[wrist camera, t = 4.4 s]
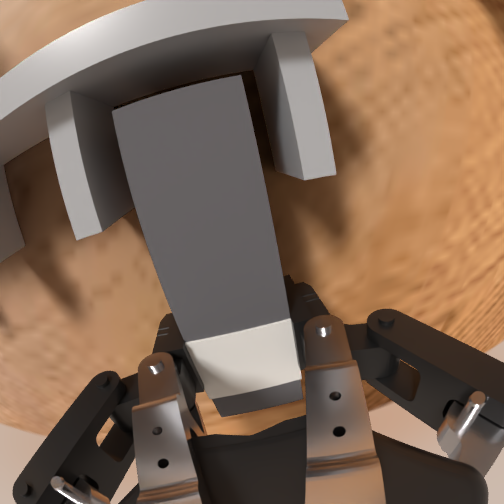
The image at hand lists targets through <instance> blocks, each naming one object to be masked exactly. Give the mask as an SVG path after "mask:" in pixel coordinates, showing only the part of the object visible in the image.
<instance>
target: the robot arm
mask: <svg viewBox="0 0 504 504" xmlns="http://www.w3.org/2000/svg"><path fill="white" fill-rule="evenodd" d="M283 279H284V284H285V290H286V296H287V301H288V307H289V313H290V319H291V324H292V330H293V336H294V342H295V348H296V354H297V361H298V365H299V368H300V370H303V369H305V386H306V415H304V416H301V417H297V418H293V419H289V420H285V421H283V422H281V423H279V424H277V425H274V426H272V427H270V428H268V429H265V430H263V431H261V432H259V433H256V434H254V435H250V436H241V435H220V434H213V435H207V432H206V429H205V425H204V422H203V419H202V416H201V413H200V410H199V406H198V404H197V402H196V400H195V398H196V393H198V392H204V383H203V381H202V379H201V377H200V375H199V373H198V371H197V369H196V367H195V365H194V363H193V361H192V358H191V356H190V354H189V352H188V350H187V347H186V345H185V341H184V339H183V337H182V335H181V333H180V330H179V328H178V326H177V323H176V321H175V318H174V316H173V314H172V313H170V314H166V316H165V317H164V318H163V319H162V320H161V322H160V326H159V330H158V333H157V337H156V341H155V344H154V348H153V352H152V354H151V355H149V356H147V357H146V358H144V359H143V360H142V361H141V363H140V364H139V366H138V373H136V374H134V375H131V376H128V377H125V378H123V379H121V378H120V377H119V375H118V374H117V373H116V372H114V371H105V372H102V373H100V374H98V375H96V376H95V377H94V378H93V379H92V380H91V381H90V382H89V384H88V385H87V386H86V387H85V389H84V390H83V391H82V392H81V394H80V395H79V396H78V397H77V399H76V400H75V401H74V403H73V404H72V405H71V406H70V408H69V409H68V410H67V411H66V413H65V414H64V415H63V417H62V418H61V419H60V421H59V422H58V423H57V425H56V426H55V427H54V428H53V430H52V431H51V432H50V434H49V435H48V436H47V438H46V439H45V441H44V442H43V443H42V445H41V446H40V447H39V449H38V450H37V452H36V453H35V454H34V456H33V457H32V458H31V460H30V461H29V463H28V464H27V465H26V467H25V468H24V470H23V471H22V473H21V474H20V475H19V477H18V478H17V480H16V482H15V483H14V486H13V497H14V500H15V502H16V503H17V504H110V501H111V499H112V498H113V496H114V494H115V492H116V490H117V489H118V487H119V485H120V483H121V482H122V480H123V478H124V476H125V474H126V472H127V471H128V469H129V467H130V465H131V463H132V462H133V460H134V458H136V466H137V474H138V481H139V483H138V484H137V485H136V486H135V487H134V488H133V489H132V490H131V491H130V492H129V493H128V494H127V495H126V496H125V497H124V499H122V500H121V502H119V503H118V504H488V487H487V484H486V481H485V479H484V477H485V475H486V474H487V472H488V471H489V469H490V468H491V466H492V465H493V463H494V462H495V460H496V458H497V457H498V455H499V454H500V452H501V450H502V448H503V447H504V363H503V362H501V361H499V360H497V359H495V358H493V357H491V356H489V355H487V354H485V353H483V352H481V351H479V350H477V349H475V348H473V347H471V346H469V345H467V344H465V343H463V342H461V341H459V340H457V339H455V338H453V337H451V336H449V335H447V334H444V333H442V332H440V331H438V330H436V329H434V328H432V327H430V326H428V325H426V324H424V323H422V322H420V321H418V320H416V319H414V318H411V317H409V316H407V315H405V314H403V313H401V312H399V311H397V310H394V309H380V310H377V311H374V312H373V313H371V314H370V315H369V317H368V318H367V323H365V324H356V325H347V324H343V321H342V320H341V319H340V318H338V317H336V316H333V315H330V313H329V312H328V310H327V309H326V307H325V306H324V304H323V303H322V301H321V300H320V299H319V297H318V295H317V294H316V293H315V291H314V289H313V288H312V287H311V286H310V285H308V284H306V283H304V282H301V283H298V284H294V282H293V280H292V279H291V277H290V275H285V276H283ZM400 359H401V360H403V361H404V362H406V363H408V364H409V365H411V366H413V367H414V368H416V369H417V370H418V371H417V370H416V369H414V368H412V367H411V366H409V365H407V364H406V363H404V362H402V361H401V360H400ZM361 380H366V381H367V383H369V384H370V385H371V386H373V387H374V388H375V389H377V390H378V391H380V392H381V393H382V394H384V395H385V396H387V397H388V398H389V399H391V400H392V401H394V402H395V403H397V404H398V405H399V406H401V407H402V408H404V409H405V410H407V411H408V412H409V413H411V414H412V415H414V416H415V417H417V418H418V419H420V420H421V421H423V422H424V423H426V424H427V425H429V426H430V427H431V428H433V429H434V430H436V431H437V440H438V443H439V445H440V446H441V449H442V450H443V451H444V452H446V453H447V455H448V457H449V458H446V457H442V456H440V455H436V454H433V453H430V452H427V451H425V450H422V449H419V448H416V447H413V446H410V445H408V444H405V443H402V442H399V441H397V440H395V439H392V438H389V437H387V436H385V435H382V434H380V433H377V432H375V431H373V430H372V429H371V424H370V419H369V414H368V409H367V404H366V399H365V395H364V390H363V386H362V381H361ZM109 417H110V418H111V420H112V421H113V422H114V425H113V427H112V428H111V430H110V431H109V433H108V434H107V436H106V437H105V439H104V440H103V442H102V443H101V445H100V447H99V446H98V445H97V442H96V437H97V434H98V433H99V431H100V430H101V428H102V427H103V425H104V424H105V422H106V421H107V419H108V418H109Z"/></svg>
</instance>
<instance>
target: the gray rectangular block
mask: <svg viewBox="0 0 504 504" xmlns="http://www.w3.org/2000/svg"><path fill="white" fill-rule="evenodd" d="M112 115H113V120H114V125H115V130H116V134H117V139H118V143H119V148H120V152H121V156H122V160H123V164H124V168H125V172H126V176H127V180H128V184H129V187H130V191H131V195H132V198H133V202H134V205H135V208H136V212H137V215H138V218H139V222H140V225H141V228H142V231H143V234H144V237H145V240H146V243H147V246H148V249H149V252H150V255H151V258H152V261H153V264H154V267H155V269H156V272H157V275H158V278H159V280H160V283H161V286H162V288H163V291H164V293H165V296H166V299H167V301H168V304H169V306H170V309H171V311H172V314H173V316H174V318H175V321H176V323H177V326H178V328H179V330H180V333H181V335H182V337H183V339H184V341H185V345H186V347H187V350H188V352H189V354H190V356H191V358H192V361H193V363H194V365H195V367H196V369H197V371H198V373H199V375H200V377H201V379H202V381H203V383H204V389H205V391H206V393H207V395H208V397H209V399H212V400H213V402H214V404H215V406H216V408H217V410H218V412H219V414H220V415H221V417H226V416H232V415H237V414H242V413H247V412H252V411H257V410H262V409H266V408H270V407H274V406H279V405H283V404H286V403H290V402H294V401H298V400H301V399H303V394H302V387H301V381H300V379H302V376H301V370H300V368H299V365H298V361H297V354H296V348H295V342H294V336H293V330H292V324H291V319H290V313H289V307H288V301H287V296H286V290H285V284H284V279H283V273H282V268H281V262H280V257H279V252H278V246H277V241H276V236H275V231H274V225H273V220H272V215H271V210H270V205H269V200H268V195H267V190H266V185H265V181H264V176H263V171H262V166H261V161H260V157H259V152H258V147H257V143H256V138H255V134H254V129H253V124H252V120H251V115H250V111H249V107H248V102H247V98H246V94H245V89H244V85H243V81H242V77H241V75H238V76H232V77H227V78H222V79H217V80H212V81H208V82H203V83H199V84H195V85H191V86H187V87H183V88H179V89H176V90H172V91H169V92H165V93H162V94H159V95H156V96H153V97H149V98H146V99H143V100H140V101H138V102H135V103H132V104H129V105H126V106H124V107H121V108H119V109H116V110H113V111H112Z"/></svg>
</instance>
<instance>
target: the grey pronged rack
mask: <svg viewBox="0 0 504 504" xmlns="http://www.w3.org/2000/svg"><path fill="white" fill-rule="evenodd" d="M347 21H349V19H348V16H347V13H346V10H345V8H344V5H343V2H342V0H146V1H142V2H139V3H136V4H134V5H131V6H128V7H125V8H122V9H120V10H117V11H115V12H112V13H110V14H107V15H105V16H103V17H100V18H98V19H96V20H94V21H91V22H89V23H87V24H85V25H83V26H81V27H79V28H77V29H75V30H73V31H71V32H69V33H67V34H66V35H64V36H62V37H60V38H58V39H57V40H55V41H53V42H51V43H50V44H48V45H46V46H45V47H43V48H42V49H40V50H38V51H37V52H35V53H34V54H32V55H31V56H29V57H28V58H26V59H25V60H23V61H22V62H21V63H19V64H18V65H16V66H15V67H14V68H12V69H11V70H10V71H8V72H7V73H6V74H5V75H3V76H2V77H1V78H0V263H1V262H2V261H4V260H5V259H7V258H8V257H10V256H11V255H13V254H14V253H16V252H17V251H19V250H20V249H22V248H23V247H25V246H26V245H25V243H24V240H23V237H22V234H21V231H20V228H19V225H18V221H17V218H16V215H15V211H14V208H13V204H12V200H11V196H10V192H9V188H8V184H7V179H6V174H5V169H4V164H6V163H7V162H9V161H10V160H12V159H13V158H15V157H16V156H18V155H20V154H21V153H23V152H24V151H26V150H28V149H29V148H31V147H33V146H34V145H36V144H38V143H40V142H41V141H43V140H45V139H47V138H50V144H51V149H52V154H53V159H54V163H55V168H56V172H57V176H58V180H59V184H60V188H61V192H62V195H63V199H64V203H65V206H66V209H67V213H68V216H69V219H70V222H71V225H72V228H73V231H74V234H75V237H76V240H79V239H82V238H85V237H88V236H91V235H94V234H97V233H100V232H103V231H104V230H105V229H107V228H108V227H109V226H111V225H112V224H113V223H114V222H116V221H117V220H118V219H120V218H121V217H122V216H124V215H125V214H126V213H128V212H129V211H131V210H132V209H133V208H135V205H134V202H133V198H132V195H131V191H130V187H129V184H128V180H127V176H126V172H125V168H124V164H123V160H122V156H121V152H120V148H119V143H118V139H117V134H116V130H115V125H114V120H113V115H112V111H113V110H114V107H115V106H118V105H120V104H123V103H126V102H128V101H131V100H134V99H137V98H140V97H143V96H146V95H149V94H152V93H155V92H158V91H161V90H165V89H168V88H171V87H175V86H179V85H182V84H186V83H190V82H194V81H198V80H203V79H207V78H212V77H216V76H221V75H226V74H232V73H237V72H243V71H250V70H253V71H254V75H255V79H256V84H257V88H258V92H259V96H260V101H261V105H262V110H263V114H264V119H265V123H266V128H267V132H268V137H269V142H270V147H271V151H272V156H273V161H274V166H275V171H278V172H281V173H284V174H287V175H290V176H293V177H296V178H299V179H302V180H309V179H314V178H319V177H325V176H331V175H336V168H335V162H334V156H333V150H332V144H331V139H330V134H329V128H328V123H327V118H326V113H325V109H324V104H323V100H322V95H321V91H320V87H319V82H318V78H317V74H316V70H315V66H314V63H313V59H312V55H311V53H312V52H313V51H314V50H315V49H317V48H318V47H319V46H320V45H321V44H322V43H323V42H324V41H325V40H326V39H328V38H329V37H330V36H331V35H332V34H333V33H334V32H336V31H337V30H338V29H339V28H340V27H341V26H343V25H344V24H345V23H346V22H347Z"/></svg>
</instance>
